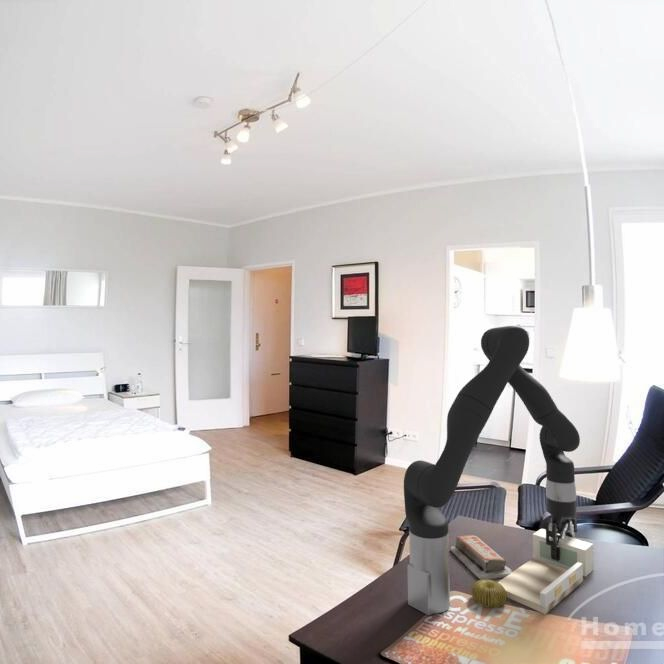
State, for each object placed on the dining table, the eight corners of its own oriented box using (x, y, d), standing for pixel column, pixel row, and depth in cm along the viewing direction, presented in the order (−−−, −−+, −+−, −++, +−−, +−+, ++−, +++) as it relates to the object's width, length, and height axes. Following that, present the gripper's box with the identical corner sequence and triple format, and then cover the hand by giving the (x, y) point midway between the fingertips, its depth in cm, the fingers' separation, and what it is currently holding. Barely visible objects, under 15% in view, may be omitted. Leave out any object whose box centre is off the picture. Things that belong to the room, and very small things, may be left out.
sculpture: (467, 588, 111) (475, 573, 118) (468, 605, 111) (476, 589, 118) (502, 597, 107) (509, 581, 113) (503, 615, 107) (509, 597, 113)
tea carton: (585, 577, 122) (584, 550, 122) (533, 558, 133) (532, 534, 133) (593, 570, 126) (593, 543, 126) (542, 552, 136) (541, 528, 136)
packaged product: (449, 535, 139) (479, 531, 141) (449, 551, 139) (479, 547, 141) (480, 563, 121) (515, 559, 123) (481, 582, 121) (515, 577, 123)
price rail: (546, 608, 106) (545, 594, 106) (540, 605, 107) (539, 592, 107) (583, 575, 120) (583, 563, 120) (578, 573, 121) (577, 561, 121)
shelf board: (545, 614, 106) (545, 607, 106) (493, 591, 116) (493, 585, 116) (583, 581, 120) (583, 575, 120) (533, 563, 130) (533, 557, 130)
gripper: (563, 506, 122) (565, 568, 122) (585, 493, 131) (587, 550, 131) (535, 499, 128) (537, 558, 128) (558, 486, 137) (559, 542, 137)
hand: (562, 554), depth 129 cm, fingers open, 8 cm apart
